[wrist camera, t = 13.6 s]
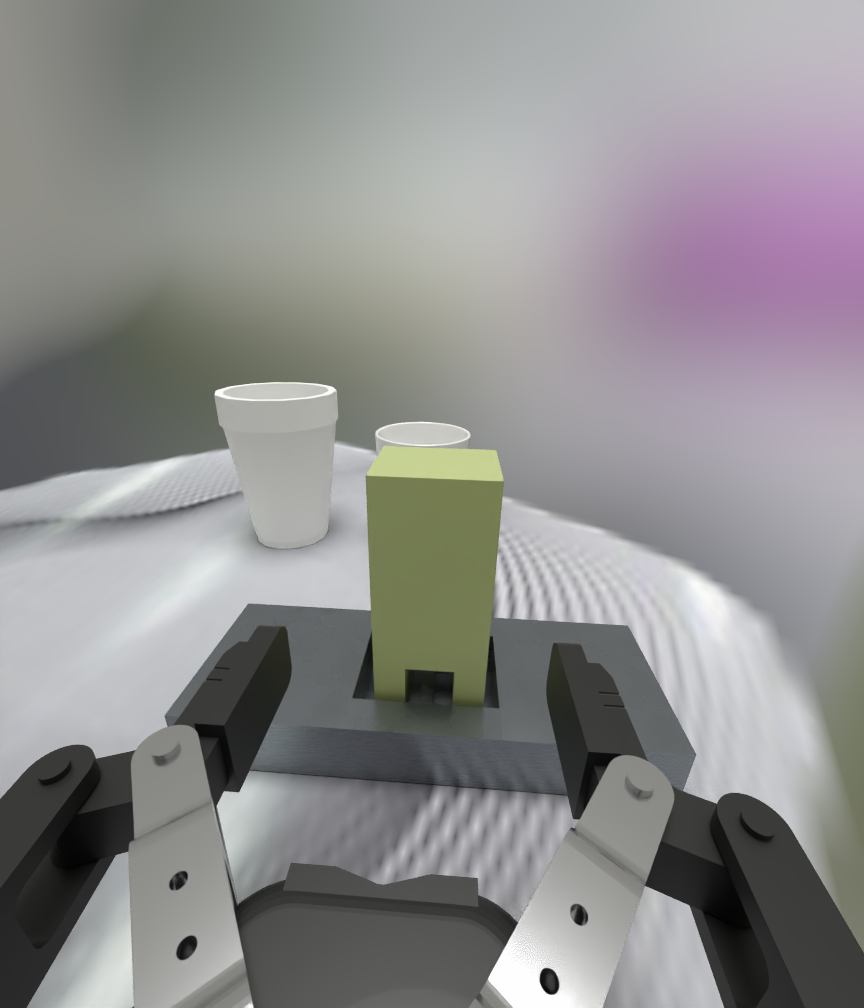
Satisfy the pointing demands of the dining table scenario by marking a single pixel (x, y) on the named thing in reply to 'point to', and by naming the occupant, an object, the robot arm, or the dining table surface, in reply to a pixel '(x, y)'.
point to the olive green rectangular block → (432, 566)
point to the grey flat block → (440, 705)
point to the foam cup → (282, 456)
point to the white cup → (422, 436)
